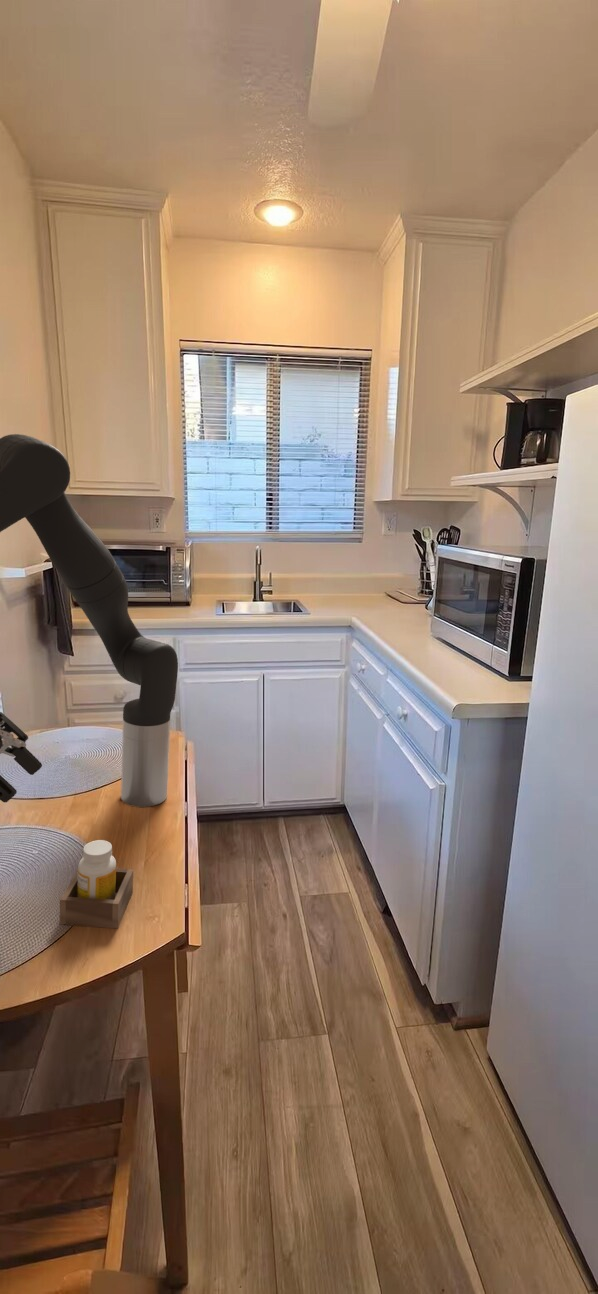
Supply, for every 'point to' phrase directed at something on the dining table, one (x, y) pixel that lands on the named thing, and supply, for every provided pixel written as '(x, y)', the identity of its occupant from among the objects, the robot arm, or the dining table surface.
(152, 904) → the dining table surface
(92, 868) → the supplement bottle
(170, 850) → the dining table surface
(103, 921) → the holder
